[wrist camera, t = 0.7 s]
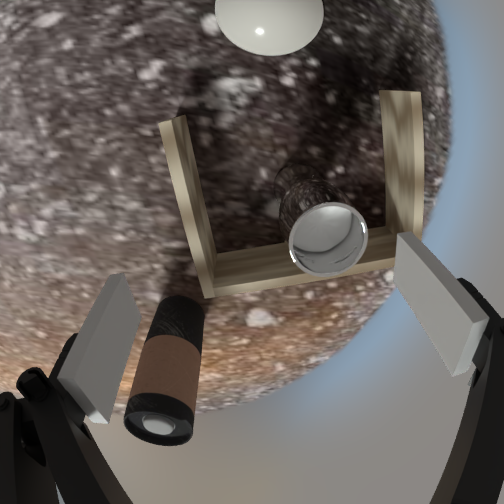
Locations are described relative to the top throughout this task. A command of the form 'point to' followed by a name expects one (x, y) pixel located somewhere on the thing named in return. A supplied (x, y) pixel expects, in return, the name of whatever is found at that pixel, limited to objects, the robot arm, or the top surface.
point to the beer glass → (318, 222)
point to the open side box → (277, 255)
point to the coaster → (269, 24)
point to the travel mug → (167, 375)
